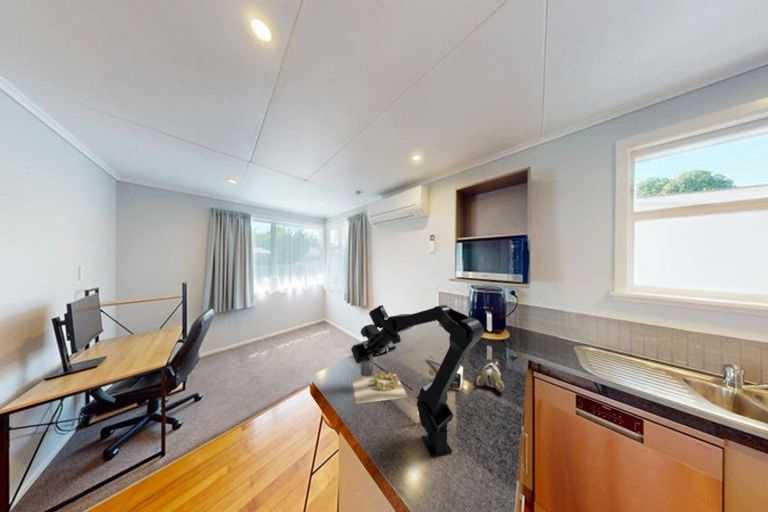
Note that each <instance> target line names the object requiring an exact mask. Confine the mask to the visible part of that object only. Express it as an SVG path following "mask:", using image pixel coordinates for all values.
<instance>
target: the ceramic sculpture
mask: <svg viewBox="0 0 768 512" xmlns="http://www.w3.org/2000/svg"><path fill="white" fill-rule="evenodd" d="M481 371H482V372H481V374H480V375H478V376H477V377H476V381H475V382H476V386H478V387H484V386H487V387H490V388H495V389H496V390H497V391H498V392H500V393H503V392H504V391H505V384H504V381H503V380H501V376H502V373H501V372H500V369H499V368H498V367H497V365H495V364H494V362H492V361H491V362H489V363H487V364H486V365H485V366H484V367H483V368H482V370H481Z"/></svg>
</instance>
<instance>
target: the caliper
mask: <svg viewBox="0 0 768 512" xmlns="http://www.w3.org/2000/svg"><path fill="white" fill-rule="evenodd" d="M426 361H427V362H428V363H430V364H433V365H436V366H438V367H440V366H441V364H442V362H439V361H437V360H435V359H432V358H427V359H426Z"/></svg>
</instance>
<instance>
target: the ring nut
mask: <svg viewBox="0 0 768 512" xmlns="http://www.w3.org/2000/svg"><path fill="white" fill-rule="evenodd" d="M394 374H395V373H393V372H390V371H389V372H388V373H387V372H386V371H380V373H376V374H375V375H374V374H373V376H374V381H373V384H374V387H377V389H378V390H380V391H382V390H383V383H382V382H379V377H380V376H381V377H380V378H381V379H386V375H388V379H389V380H392V381H393V380H394V381H393V382H392V389H396V388H397V384H398V379H399V377H398V376H397V375H396V376H394ZM385 390H386V391H391V383H385Z"/></svg>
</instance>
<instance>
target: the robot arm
mask: <svg viewBox="0 0 768 512" xmlns="http://www.w3.org/2000/svg"><path fill="white" fill-rule="evenodd" d="M368 315H369V316H370V319H371V322H372V324H367V325H364V326H363V327H361V328H360V329H361V330H360V334H361V336H362V337H363V338H365V337H366V339H367V340H366V341H367V342H368V344H370V345H367V347H368V348H365V347H364V345H363V344H362V342H359V343H357V344H353V345H352V346H351V348H350V351H351V353H352V355H353V358H354V360H355V363H356V364H358V365H359V364H361V363H362V362H365V361H368V360H370V359H369V357H370V354H373V353H374V355H373V358H376V357H381V356H385V355H387V354H388V353H391V352H394V351H395V350H396V349H397V348H396V346H397V345H396V344H399V343H401V342H402V339H401V335H400V334H399V333H403V332H405V331H408V330H410V329H412V328H413V327H414V326H418V325H423V324H426V323H427V324H428V323H433V322H435V321H437V322H438V323H440V326H441V327H442V328H443V330H444V331H445V332H446V333H448V334H449V336H448V337H449V338H448V339H449V340H448V341H449V347H448V349H447V351H446V354H445V355H444V358H443V359H442V362H441V363H442V364H441V366H439V367H438V370H437V373H436V374H435V376H434V379H433V380H432V381H429V382H428V383H426V384H425V385H423V386H422V387H421V388H420V391H419V392H418V396H416V407H417V411H418V416H419V421H420V425H421V427H422V428H424V430H425V432H426V434H425V435H422V436H421V440H422V442H423V444H424V446H425V449H426V450H427V452H428V454H429V456H430V457H431V458H435V457H440V456H445V455H449V454H452V453H453V450H452V447H451V446H450V445H449V443H448V424H449V423H450V422H451V421H452V420H453V419H454V414H453V411H452V410H451V408H450V407H449V404H448V403H447V402H448V391H449V389H450V388H449V387H450V385H451V383H452V381H453V379H454V377H455V375H456V373H457V371H458V369H459V367H460V365H461V366H462V364H463V361H464V360H465V357H466V355H467V353H469V352H470V351H471V350H472V348H473V347H475V345H476V344H477V343H478V342H479V341H480V340H481V339H482V338H483V336H484V333H485V329H484V327H483V325H482V323H481V322H480V321H479V319H476V318H474V317H470V316H468V315H466V314H464V313H462V312H460V311H457V310H455V309H453V308H451V307H450V306H448V305H447V304H441V305H436V306H434V307H432V308H429V309H426V310H422V311H419V312H414V313H402V314H396V315H393V316H389V315H388V313H387V312H386V309H385V306H384V305H378V306H377V307H375V308H373V309H372V310H370V311H369V312H368ZM379 329H381V330H379Z"/></svg>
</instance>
